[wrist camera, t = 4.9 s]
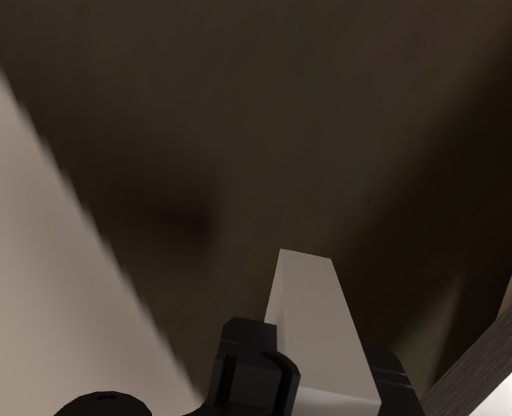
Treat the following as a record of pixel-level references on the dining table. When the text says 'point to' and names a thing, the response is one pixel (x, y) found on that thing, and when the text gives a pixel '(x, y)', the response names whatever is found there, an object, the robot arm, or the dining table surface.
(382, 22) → the dining table surface
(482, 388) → the tong arm
